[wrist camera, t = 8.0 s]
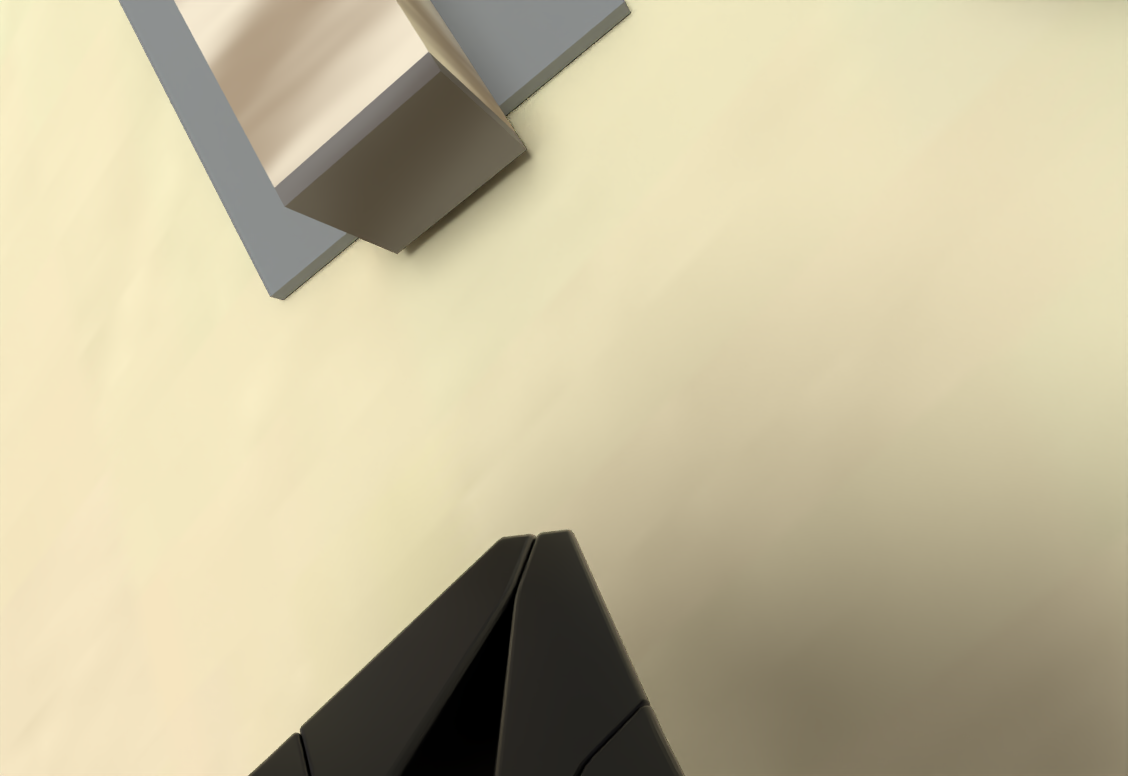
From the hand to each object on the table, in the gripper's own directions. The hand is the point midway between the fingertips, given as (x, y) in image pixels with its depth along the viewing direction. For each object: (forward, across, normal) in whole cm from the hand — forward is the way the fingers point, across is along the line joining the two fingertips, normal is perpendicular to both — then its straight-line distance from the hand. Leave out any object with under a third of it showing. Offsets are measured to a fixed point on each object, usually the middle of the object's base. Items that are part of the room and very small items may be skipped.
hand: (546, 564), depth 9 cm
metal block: (+13, +4, -3) cm, 14 cm away
